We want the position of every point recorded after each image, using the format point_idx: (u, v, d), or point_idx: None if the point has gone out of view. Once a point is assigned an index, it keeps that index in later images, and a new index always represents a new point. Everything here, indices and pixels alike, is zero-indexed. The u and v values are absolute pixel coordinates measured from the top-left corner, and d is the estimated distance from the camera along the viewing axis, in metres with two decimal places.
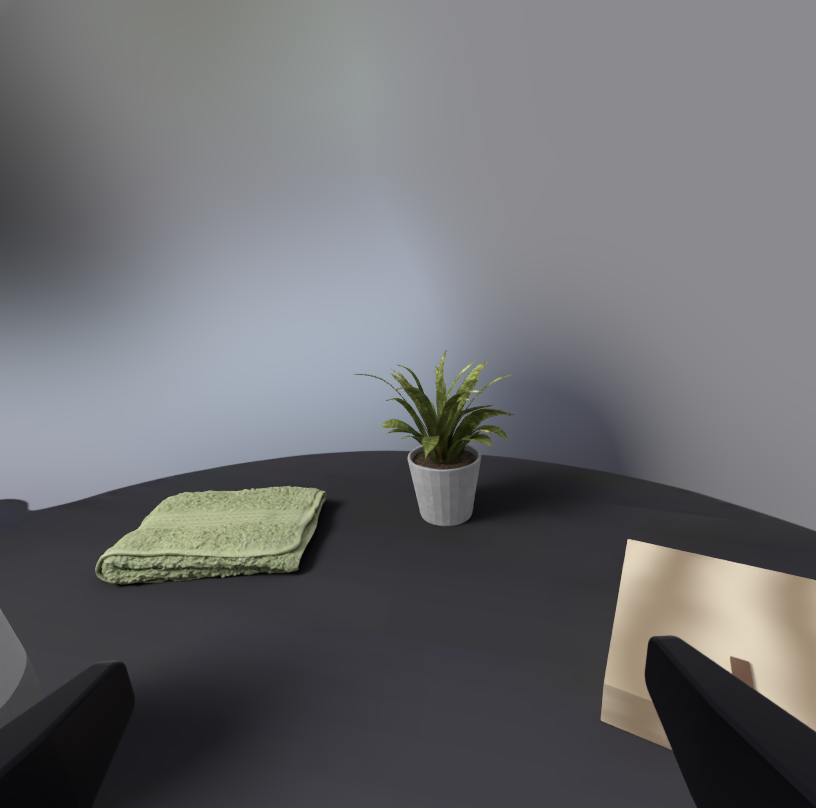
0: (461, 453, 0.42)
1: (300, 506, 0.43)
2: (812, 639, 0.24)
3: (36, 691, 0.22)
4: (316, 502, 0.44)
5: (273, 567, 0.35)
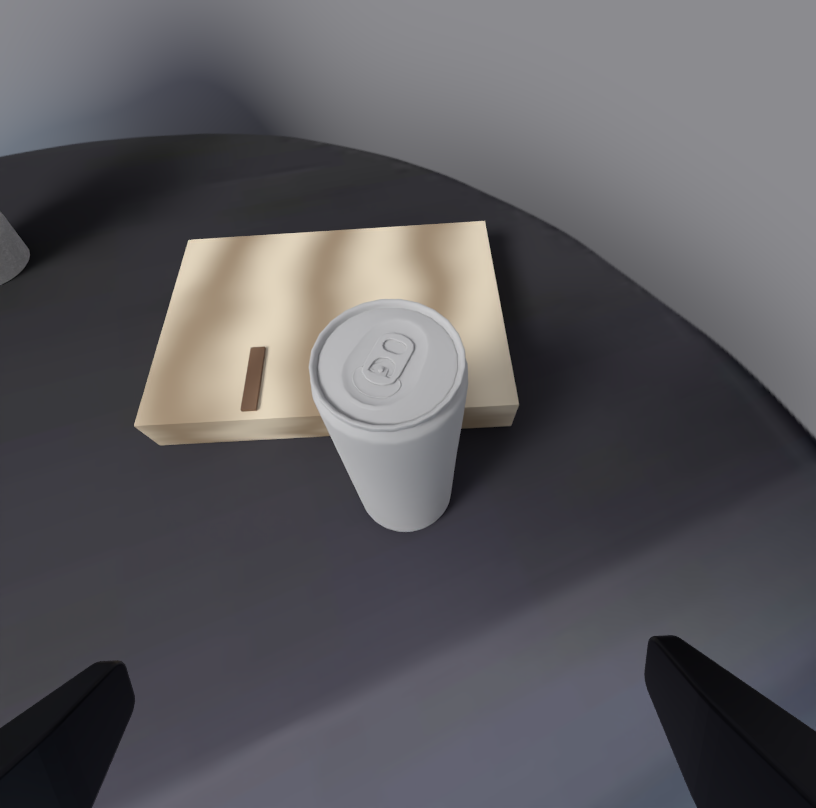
0: None
1: None
2: (324, 299, 0.26)
3: None
4: None
5: None
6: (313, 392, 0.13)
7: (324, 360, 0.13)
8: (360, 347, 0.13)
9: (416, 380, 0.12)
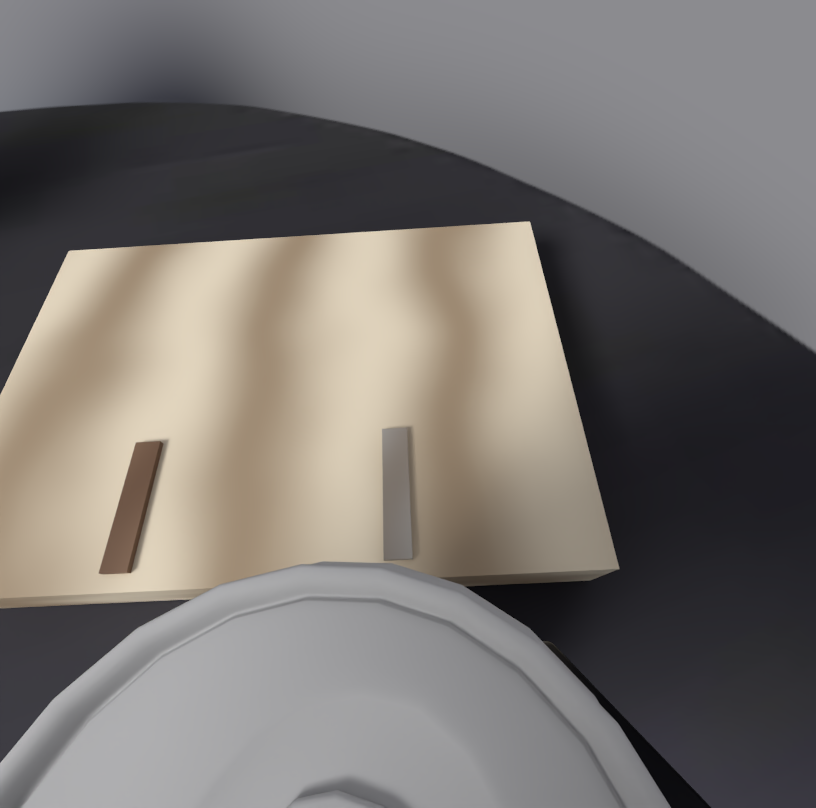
0: None
1: None
2: (271, 352, 0.16)
3: None
4: None
5: None
6: None
7: None
8: None
9: None
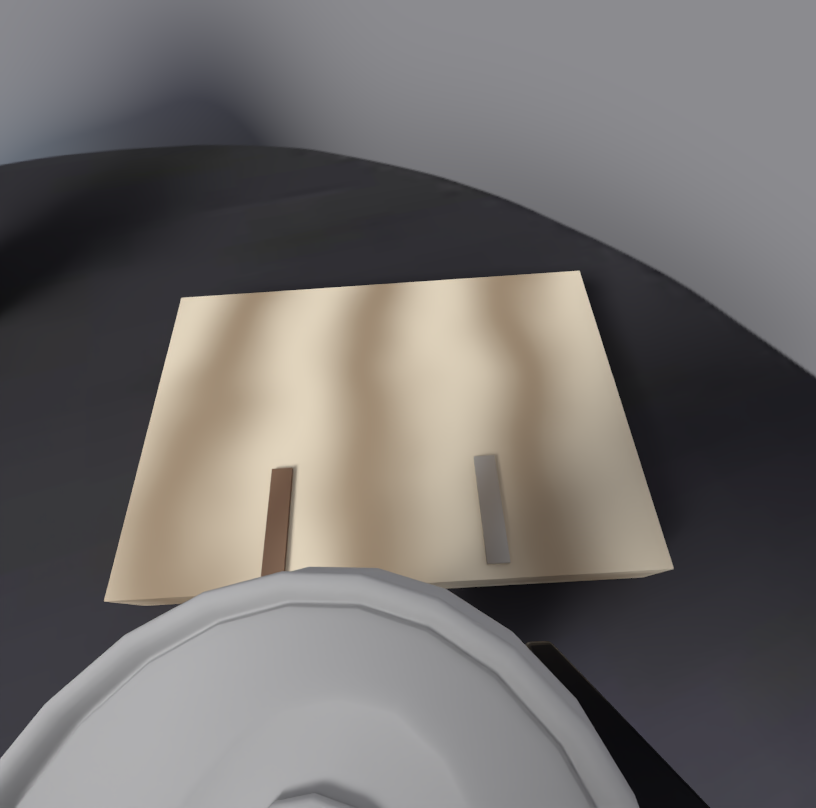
0: None
1: None
2: (371, 389, 0.19)
3: None
4: None
5: None
6: None
7: None
8: None
9: None
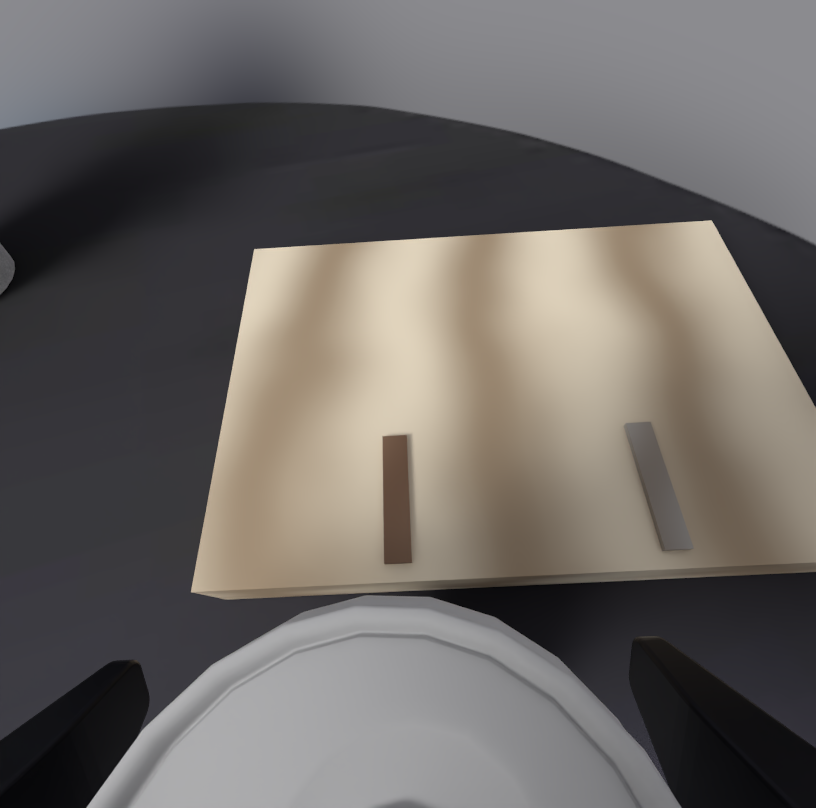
0: None
1: None
2: (489, 348, 0.16)
3: None
4: None
5: None
6: None
7: None
8: None
9: None
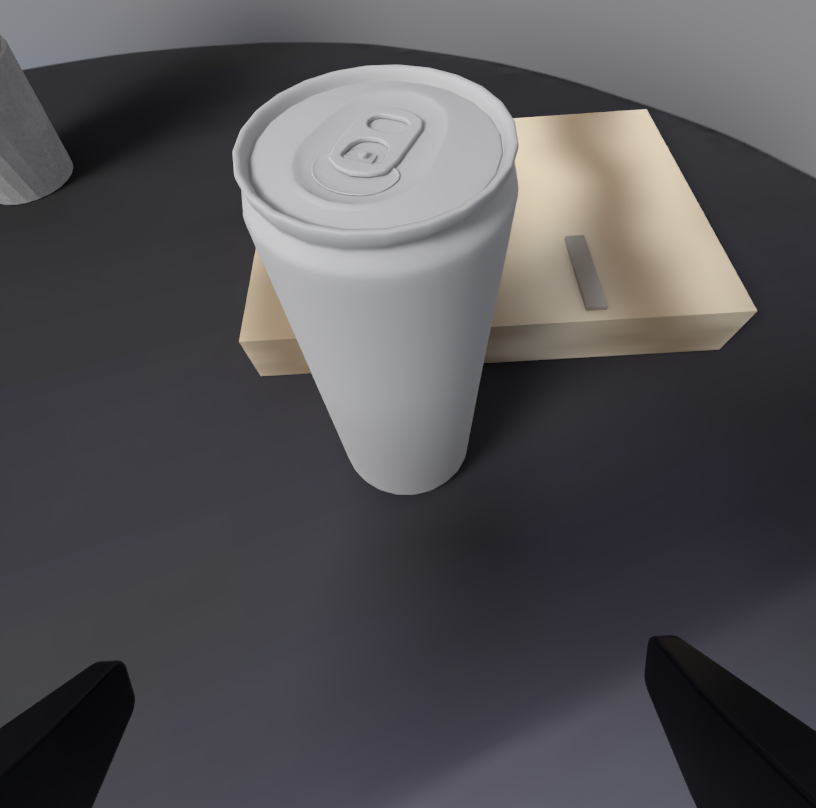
0: None
1: None
2: None
3: None
4: None
5: None
6: (244, 206, 0.07)
7: (262, 147, 0.07)
8: (328, 128, 0.07)
9: (428, 167, 0.07)
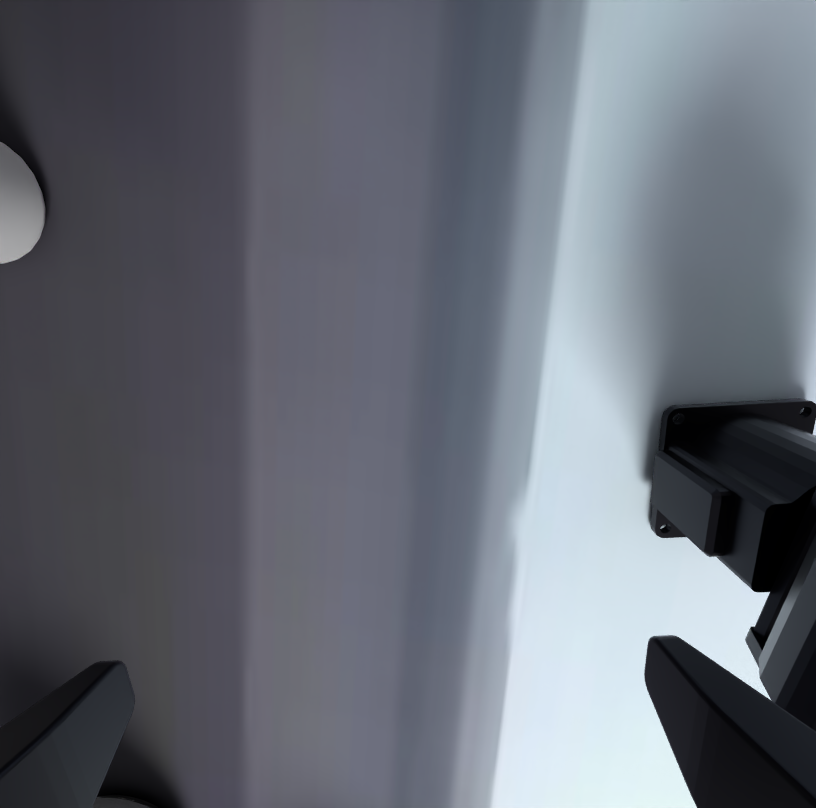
0: None
1: None
2: None
3: None
4: None
5: None
6: None
7: None
8: None
9: None
